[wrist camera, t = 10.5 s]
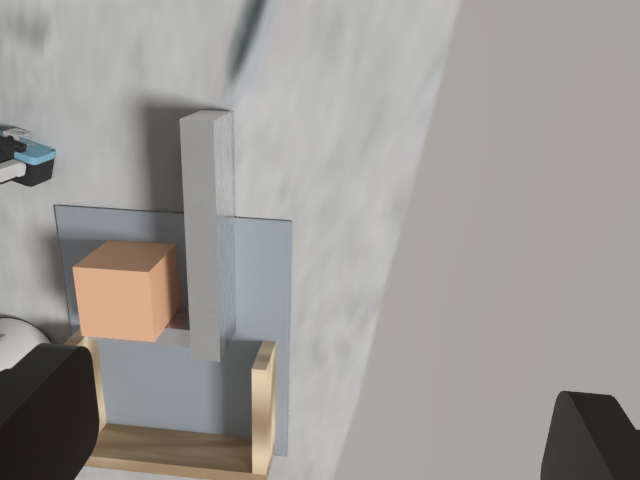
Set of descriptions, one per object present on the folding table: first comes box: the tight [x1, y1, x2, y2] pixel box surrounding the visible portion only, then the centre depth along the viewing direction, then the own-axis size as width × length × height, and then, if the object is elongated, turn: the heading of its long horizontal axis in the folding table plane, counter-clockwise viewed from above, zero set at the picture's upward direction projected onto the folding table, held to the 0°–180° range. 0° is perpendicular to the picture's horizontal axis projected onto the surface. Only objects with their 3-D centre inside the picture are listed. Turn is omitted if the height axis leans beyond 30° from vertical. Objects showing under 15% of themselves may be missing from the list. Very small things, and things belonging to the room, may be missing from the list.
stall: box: [64, 328, 276, 480], centre depth 42 cm, size 10×15×4 cm, turn 88°
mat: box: [55, 205, 292, 456], centre depth 42 cm, size 20×17×1 cm
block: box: [73, 240, 180, 342], centre depth 38 cm, size 5×5×5 cm
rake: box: [88, 110, 236, 362], centre depth 37 cm, size 16×10×4 cm, turn 178°
